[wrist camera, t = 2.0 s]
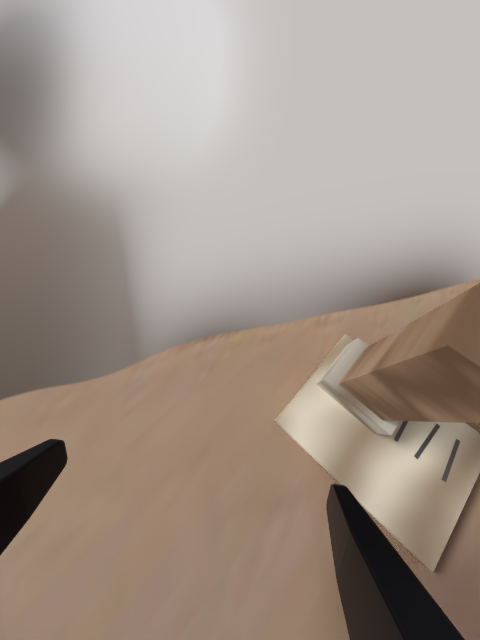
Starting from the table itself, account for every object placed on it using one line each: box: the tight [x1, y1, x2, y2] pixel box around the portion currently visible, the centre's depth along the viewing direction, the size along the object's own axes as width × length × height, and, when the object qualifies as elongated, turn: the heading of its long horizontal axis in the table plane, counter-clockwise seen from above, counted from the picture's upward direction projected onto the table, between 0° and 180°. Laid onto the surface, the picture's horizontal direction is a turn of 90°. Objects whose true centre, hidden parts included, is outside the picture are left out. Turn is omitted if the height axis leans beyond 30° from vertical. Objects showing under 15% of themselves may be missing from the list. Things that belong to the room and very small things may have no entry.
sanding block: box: [316, 283, 480, 435], centre depth 15 cm, size 6×5×14 cm
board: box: [275, 334, 480, 573], centre depth 20 cm, size 14×11×1 cm
